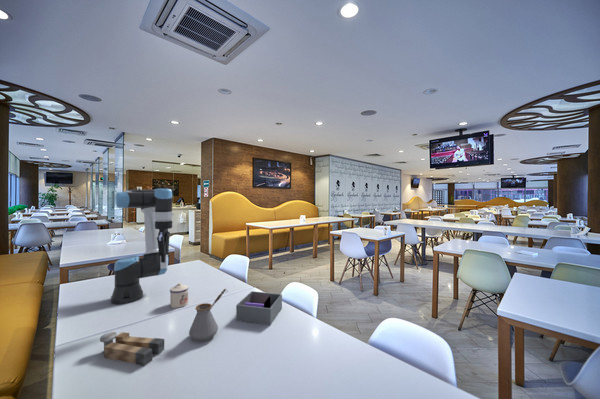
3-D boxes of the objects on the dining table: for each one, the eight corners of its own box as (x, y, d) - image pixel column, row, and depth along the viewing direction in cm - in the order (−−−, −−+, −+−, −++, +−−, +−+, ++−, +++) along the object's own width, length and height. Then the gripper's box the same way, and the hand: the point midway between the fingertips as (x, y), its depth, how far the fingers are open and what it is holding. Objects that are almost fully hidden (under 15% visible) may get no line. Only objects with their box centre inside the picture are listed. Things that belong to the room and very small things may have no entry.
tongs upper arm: (96, 354, 93) (96, 338, 93) (110, 344, 99) (110, 330, 99) (153, 359, 90) (153, 343, 90) (164, 349, 96) (164, 334, 96)
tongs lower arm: (96, 356, 92) (95, 344, 92) (109, 348, 97) (109, 336, 97) (144, 366, 87) (144, 353, 87) (156, 356, 92) (156, 344, 92)
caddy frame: (236, 320, 118) (236, 305, 118) (251, 304, 135) (251, 291, 135) (270, 325, 114) (270, 309, 114) (282, 308, 131) (282, 294, 131)
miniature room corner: (266, 319, 120) (266, 305, 120) (242, 317, 122) (242, 303, 122) (273, 308, 132) (273, 295, 131) (251, 306, 134) (251, 293, 134)
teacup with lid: (182, 308, 130) (182, 286, 130) (166, 307, 131) (165, 285, 131) (194, 299, 142) (194, 279, 142) (179, 298, 143) (179, 278, 143)
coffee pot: (205, 347, 98) (205, 309, 97) (182, 341, 102) (182, 305, 101) (236, 321, 118) (236, 289, 118) (216, 317, 122) (216, 286, 121)
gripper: (168, 221, 116) (168, 272, 117) (175, 218, 129) (175, 263, 130) (150, 222, 114) (150, 273, 115) (159, 218, 127) (159, 264, 128)
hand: (163, 268), depth 122 cm, fingers closed
